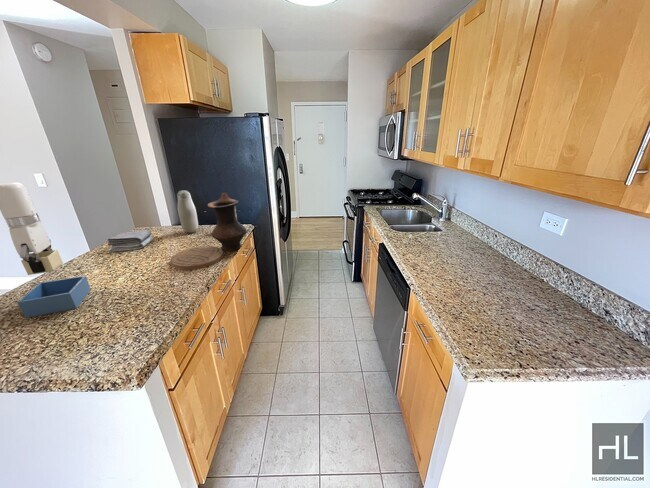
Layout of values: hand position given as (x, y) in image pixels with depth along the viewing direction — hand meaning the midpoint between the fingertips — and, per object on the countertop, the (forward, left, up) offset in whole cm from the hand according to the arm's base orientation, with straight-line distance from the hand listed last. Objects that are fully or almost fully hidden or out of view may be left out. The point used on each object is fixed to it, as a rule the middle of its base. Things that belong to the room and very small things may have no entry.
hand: (45, 267), depth 94 cm
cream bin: (0, 0, -1) cm, 1 cm away
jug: (+65, +31, -15) cm, 74 cm away
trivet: (+47, +22, -15) cm, 55 cm away
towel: (+11, +57, -15) cm, 60 cm away
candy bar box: (+66, +64, -15) cm, 93 cm away
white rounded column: (+42, +70, -15) cm, 83 cm away
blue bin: (0, 0, -15) cm, 15 cm away
